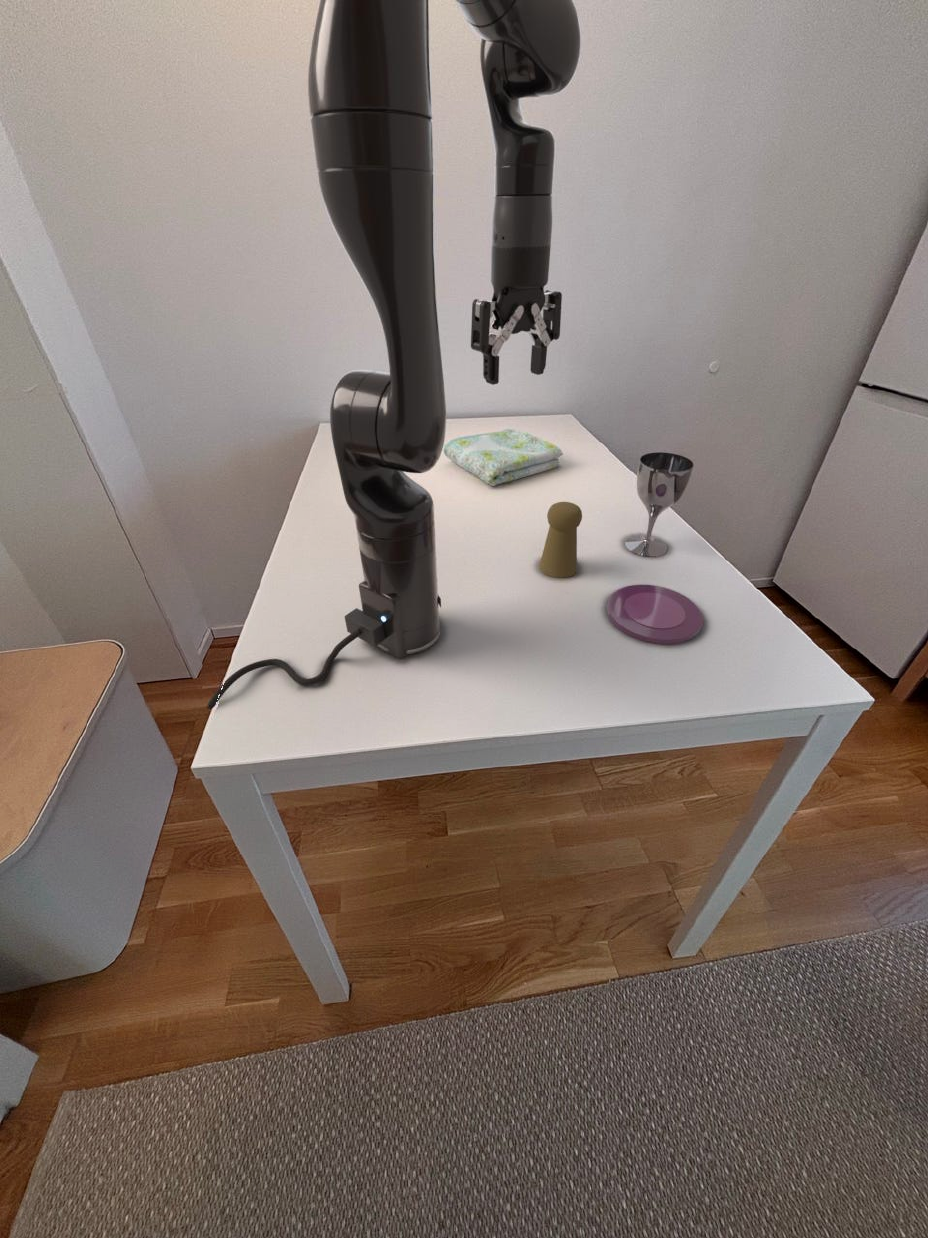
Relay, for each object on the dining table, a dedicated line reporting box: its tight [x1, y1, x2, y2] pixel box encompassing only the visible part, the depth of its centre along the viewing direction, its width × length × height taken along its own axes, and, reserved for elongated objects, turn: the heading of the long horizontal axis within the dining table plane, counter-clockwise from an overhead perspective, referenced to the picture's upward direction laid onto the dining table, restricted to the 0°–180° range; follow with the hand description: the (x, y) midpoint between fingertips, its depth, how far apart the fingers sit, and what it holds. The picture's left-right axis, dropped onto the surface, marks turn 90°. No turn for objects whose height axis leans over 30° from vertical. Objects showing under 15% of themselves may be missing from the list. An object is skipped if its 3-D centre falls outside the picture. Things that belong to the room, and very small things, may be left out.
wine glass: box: [624, 451, 694, 558], centre depth 85 cm, size 8×8×15 cm
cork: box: [539, 501, 583, 579], centre depth 81 cm, size 6×6×11 cm
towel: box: [443, 428, 564, 487], centre depth 116 cm, size 18×21×5 cm
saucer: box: [606, 584, 704, 645], centre depth 74 cm, size 13×13×1 cm
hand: (515, 378), depth 76 cm, fingers open, 8 cm apart
